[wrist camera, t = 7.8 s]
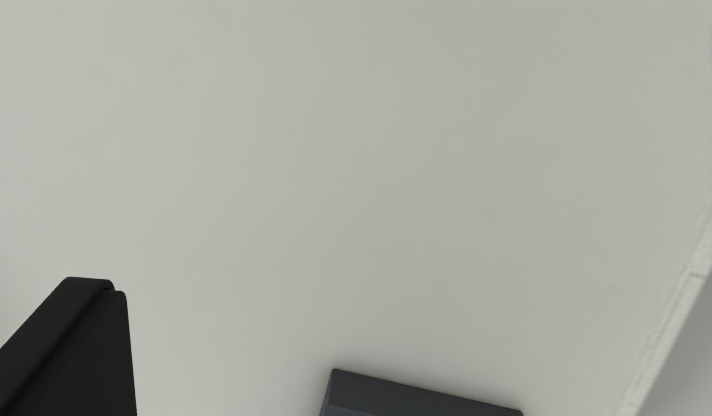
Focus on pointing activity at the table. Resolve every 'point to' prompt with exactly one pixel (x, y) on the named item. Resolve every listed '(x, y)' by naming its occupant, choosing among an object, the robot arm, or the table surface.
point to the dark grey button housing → (396, 400)
